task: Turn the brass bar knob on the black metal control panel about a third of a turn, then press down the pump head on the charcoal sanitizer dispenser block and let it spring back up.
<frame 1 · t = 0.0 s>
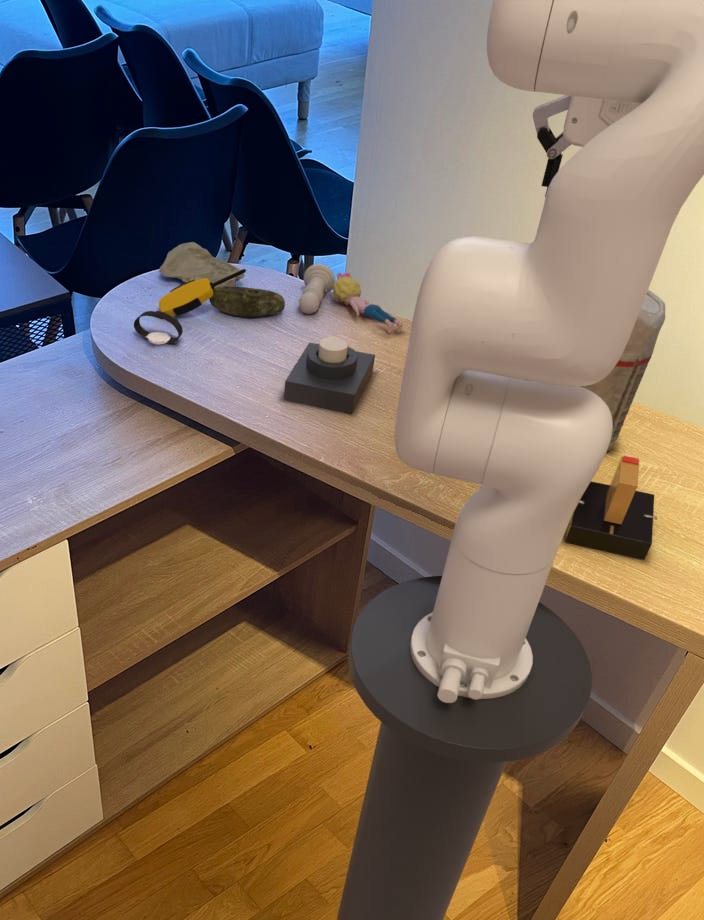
hand: (592, 199, 103), 30 cm above the table, tool pointing down, fingers open, 9 cm apart
watch: (162, 320, 138), point 2 cm above the table
decorative stone: (248, 291, 142), point 4 cm above the table, touching walkie talkie
stone: (221, 259, 155), point 2 cm above the table
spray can: (584, 438, 122), on the table
walkie talkie: (160, 310, 145), point 1 cm above the table, touching decorative stone
dispenser: (329, 386, 130), on the table
panel: (606, 526, 109), on the table
pump: (333, 350, 126), point 6 cm above the table, slide at 0.1 cm
figurine: (398, 325, 140), point 2 cm above the table
knob: (621, 489, 105), point 5 cm above the table, hinge at 0.0°
chess piece: (320, 277, 149), point 3 cm above the table
alarm clock: (472, 397, 129), on the table
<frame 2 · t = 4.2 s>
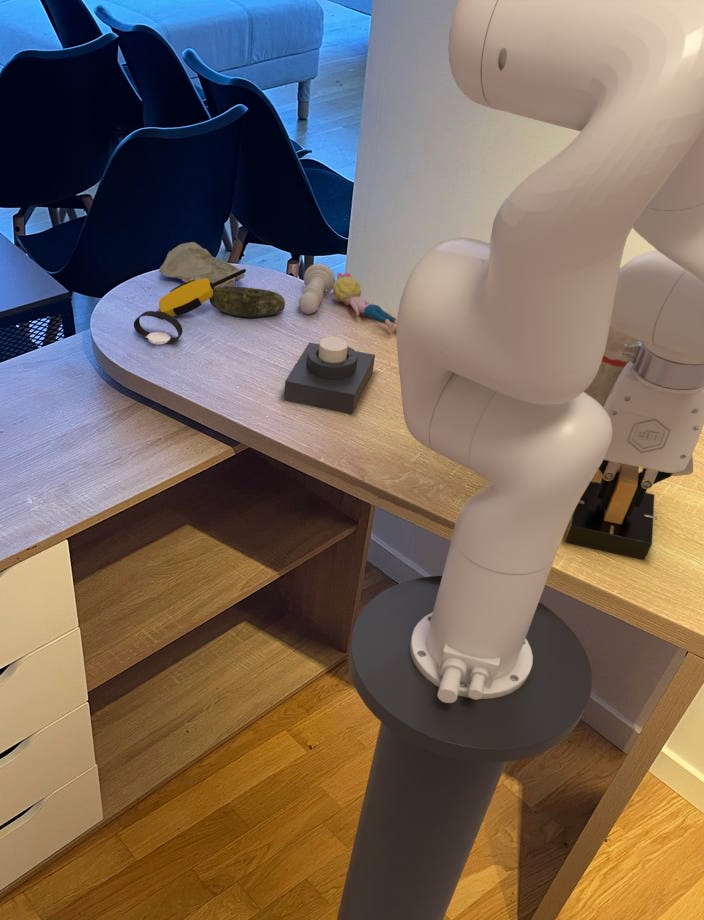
hand: (615, 505, 106), 3 cm above the table, tool pointing down, fingers closed on knob, 2 cm apart
knob: (621, 489, 105), point 5 cm above the table, hinge at 0.0°, touching gripper
everything else where it was.
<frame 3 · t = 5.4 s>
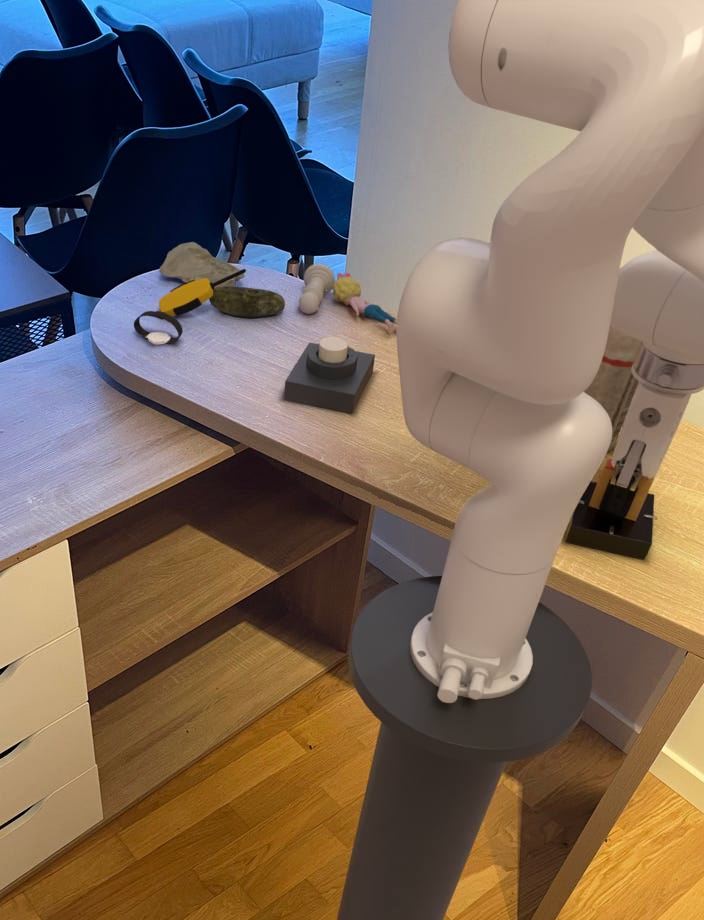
hand: (615, 505, 106), 3 cm above the table, tool pointing down, fingers closed on knob, 2 cm apart
knob: (621, 489, 105), point 5 cm above the table, hinge at 79.3°, touching gripper
everything else where it was.
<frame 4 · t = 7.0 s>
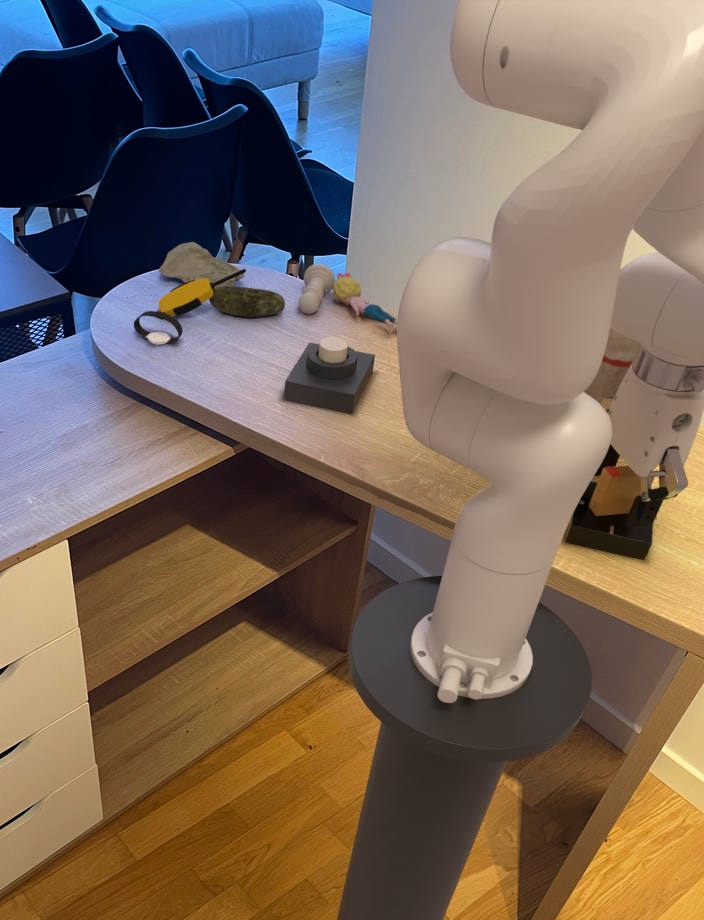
hand: (617, 498, 106), 4 cm above the table, tool pointing down, fingers open, 9 cm apart
knob: (621, 489, 105), point 5 cm above the table, hinge at 119.2°
everything else where it was.
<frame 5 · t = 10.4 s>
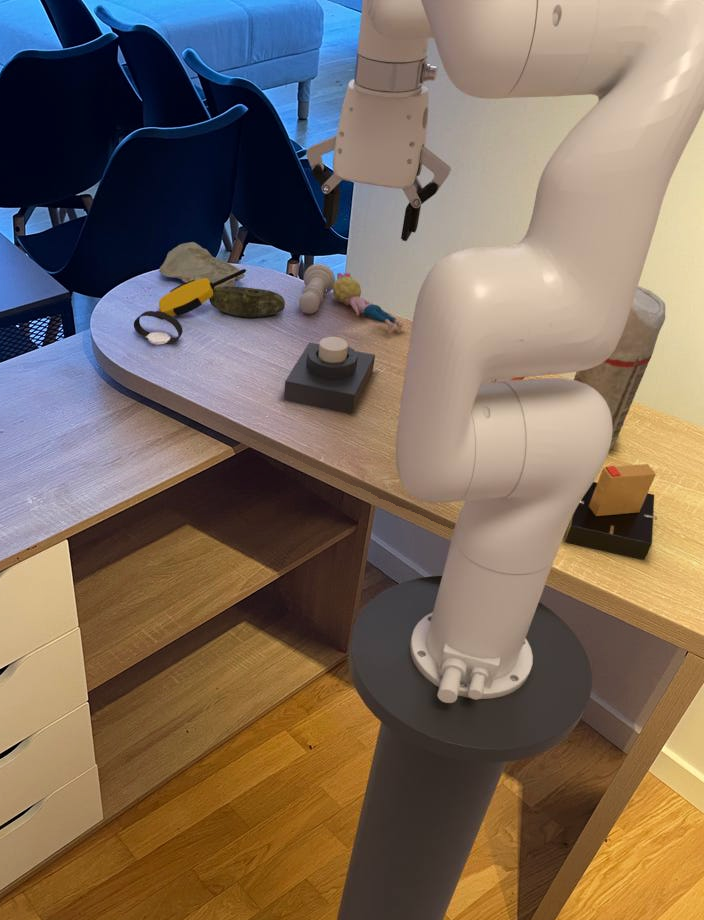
hand: (368, 230, 112), 23 cm above the table, tool pointing down, fingers open, 9 cm apart
nothing on the table moved.
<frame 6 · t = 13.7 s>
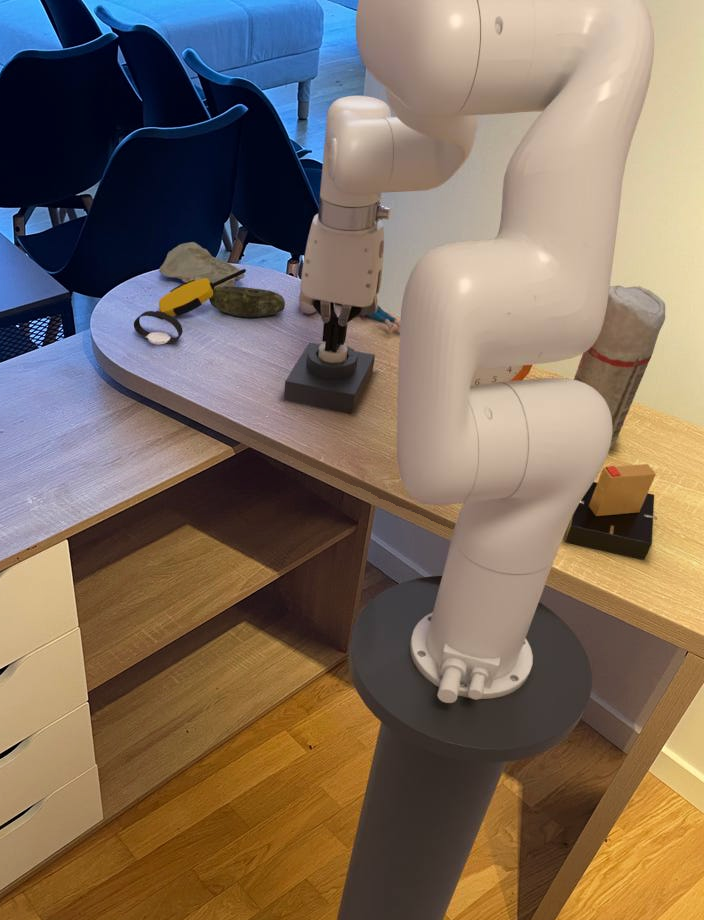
hand: (333, 347, 126), 6 cm above the table, tool pointing down, fingers closed
pump: (332, 354, 127), point 5 cm above the table, slide at -0.5 cm, touching gripper
everything else where it was.
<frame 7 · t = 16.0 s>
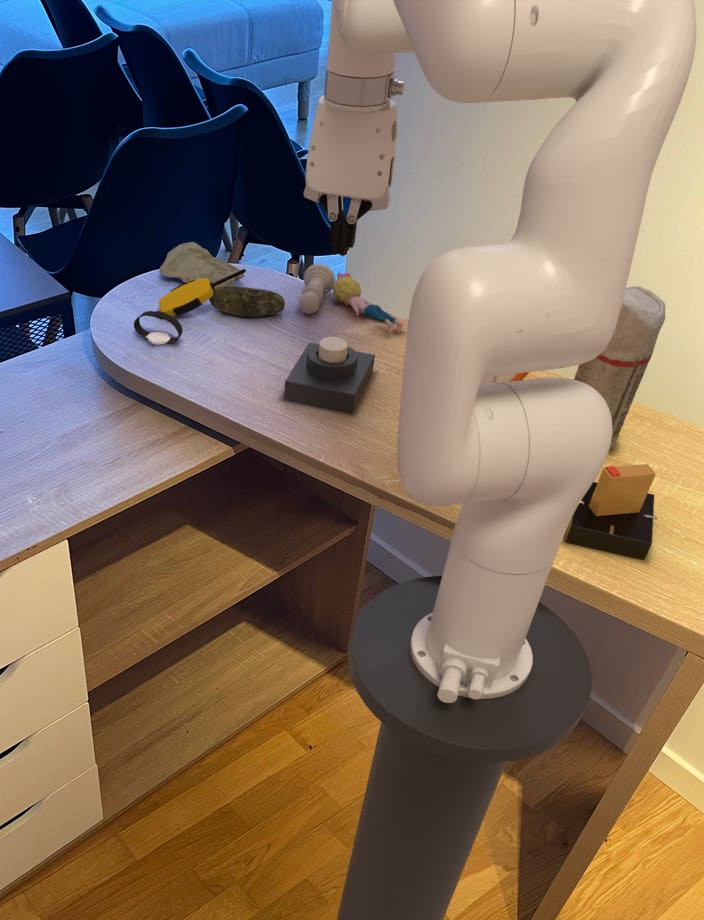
hand: (340, 251, 115), 20 cm above the table, tool pointing down, fingers closed
pump: (333, 350, 126), point 6 cm above the table, slide at 0.1 cm
everything else where it was.
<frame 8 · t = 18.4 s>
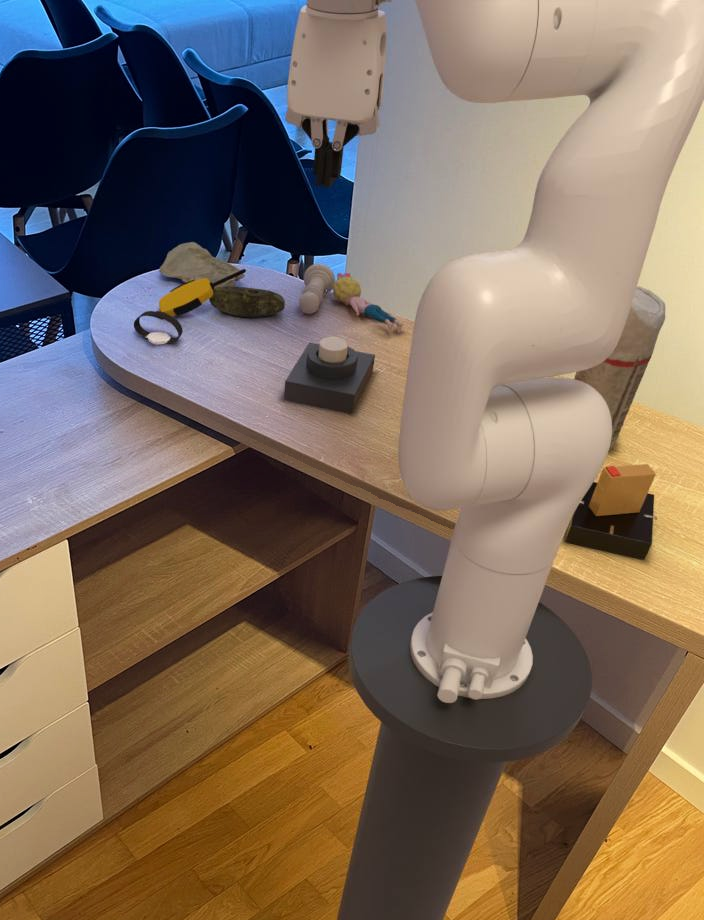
hand: (326, 182, 107), 29 cm above the table, tool pointing down, fingers closed
nothing on the table moved.
at the end: knob at +119° (first picture: +0°); pump pushed in 1.3 cm at the most during the clip, back to where it started at the end; pump slide at 0.1 cm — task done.
